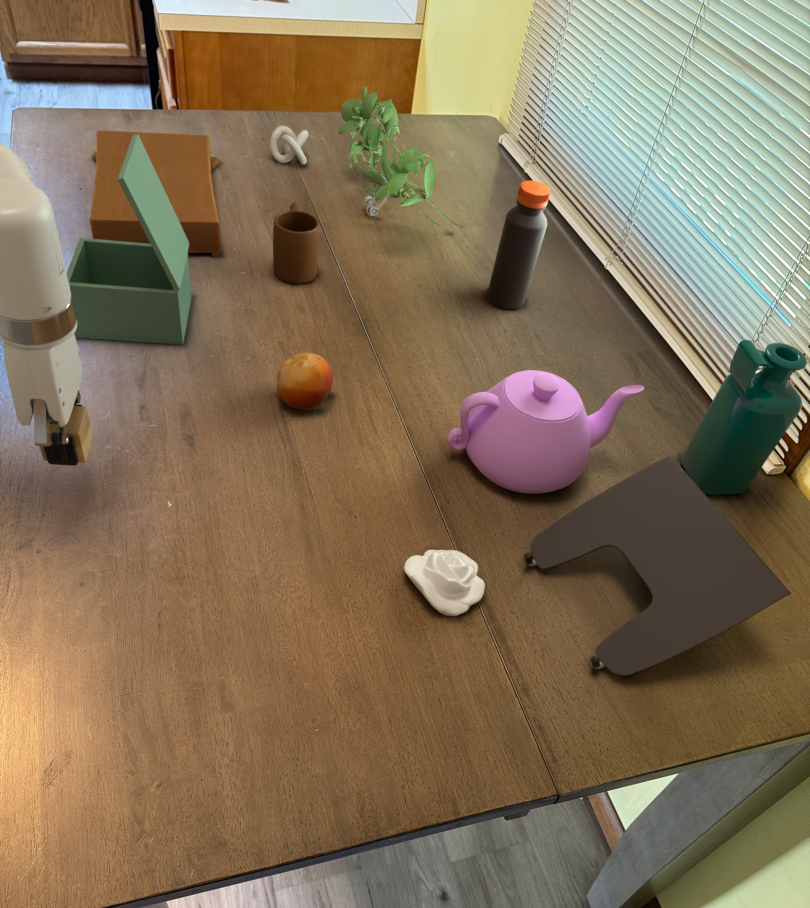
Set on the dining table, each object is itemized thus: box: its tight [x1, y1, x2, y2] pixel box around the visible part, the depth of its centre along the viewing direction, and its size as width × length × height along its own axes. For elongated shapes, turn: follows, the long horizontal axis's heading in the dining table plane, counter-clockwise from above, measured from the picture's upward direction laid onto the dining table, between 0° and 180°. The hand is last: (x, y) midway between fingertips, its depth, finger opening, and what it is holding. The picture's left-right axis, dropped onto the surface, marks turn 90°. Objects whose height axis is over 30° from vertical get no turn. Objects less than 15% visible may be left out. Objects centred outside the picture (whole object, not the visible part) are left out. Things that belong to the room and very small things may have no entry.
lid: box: [118, 134, 189, 291], centre depth 107 cm, size 16×13×1 cm
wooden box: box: [89, 129, 222, 257], centre depth 138 cm, size 23×6×35 cm
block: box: [39, 405, 94, 464], centre depth 88 cm, size 5×5×5 cm
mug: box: [272, 202, 321, 285], centre depth 130 cm, size 12×8×9 cm, turn 7°
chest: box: [66, 237, 193, 346], centre depth 115 cm, size 16×13×9 cm
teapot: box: [446, 369, 645, 495], centre depth 105 cm, size 25×18×14 cm
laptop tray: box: [523, 454, 792, 677], centre depth 94 cm, size 23×23×9 cm
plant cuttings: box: [337, 85, 467, 233], centre depth 145 cm, size 35×17×22 cm
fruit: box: [276, 352, 334, 411], centre depth 110 cm, size 8×8×8 cm
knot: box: [269, 125, 309, 165], centre depth 156 cm, size 8×8×6 cm
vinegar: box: [486, 180, 551, 310], centre depth 128 cm, size 7×7×20 cm
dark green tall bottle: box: [680, 339, 808, 496], centre depth 105 cm, size 10×8×22 cm
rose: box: [403, 549, 486, 617], centre depth 92 cm, size 10×4×10 cm
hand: (68, 445), depth 90 cm, fingers closed on block, 4 cm apart
